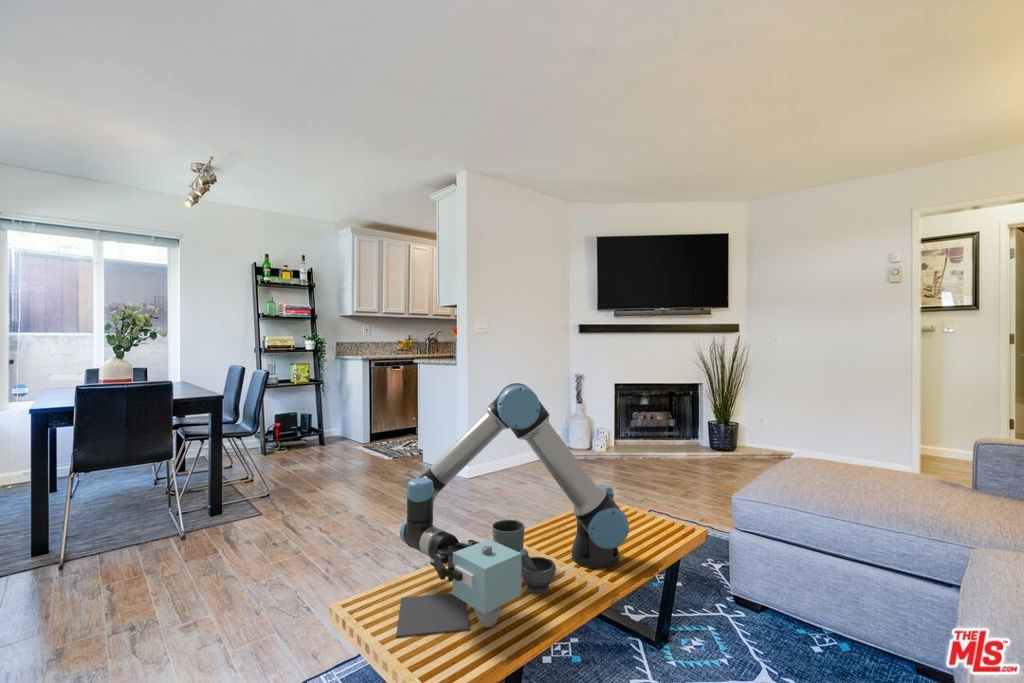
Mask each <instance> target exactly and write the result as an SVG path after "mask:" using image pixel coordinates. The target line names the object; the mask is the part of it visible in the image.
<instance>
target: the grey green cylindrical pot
mask: <svg viewBox="0 0 1024 683" xmlns="http://www.w3.org/2000/svg"><path fill="white" fill-rule="evenodd" d="M491 531H492V541H494V542H497V543H499V544H501V545H504V546H506V547H508V548H510V549H513V550H515V551H517V552H520V551H521V550H522V549H524V539H525V523H524V522H522V521H520V520H517V519H500V520H498V521H495V522H494V523H492V525H491ZM521 562H522V560H521Z"/></svg>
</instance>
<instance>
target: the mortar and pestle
mask: <svg viewBox="0 0 1024 683" xmlns="http://www.w3.org/2000/svg"><path fill="white" fill-rule="evenodd" d="M520 553H521V560H522V562H521V579H522V580H523V582H524V583H525V584H526V591H527V593H528V594H530V595H531V594H532V595H533V596H543V595H546V594H548V592H549V590H550V584H551V582H552V581H553V579H554V576H555V575H556V563H554V561H553V559H550V558H546V557H543V556H530V555H529V552H528V550H527V549H525V548H523V549H522V550H521V551H520Z"/></svg>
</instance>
